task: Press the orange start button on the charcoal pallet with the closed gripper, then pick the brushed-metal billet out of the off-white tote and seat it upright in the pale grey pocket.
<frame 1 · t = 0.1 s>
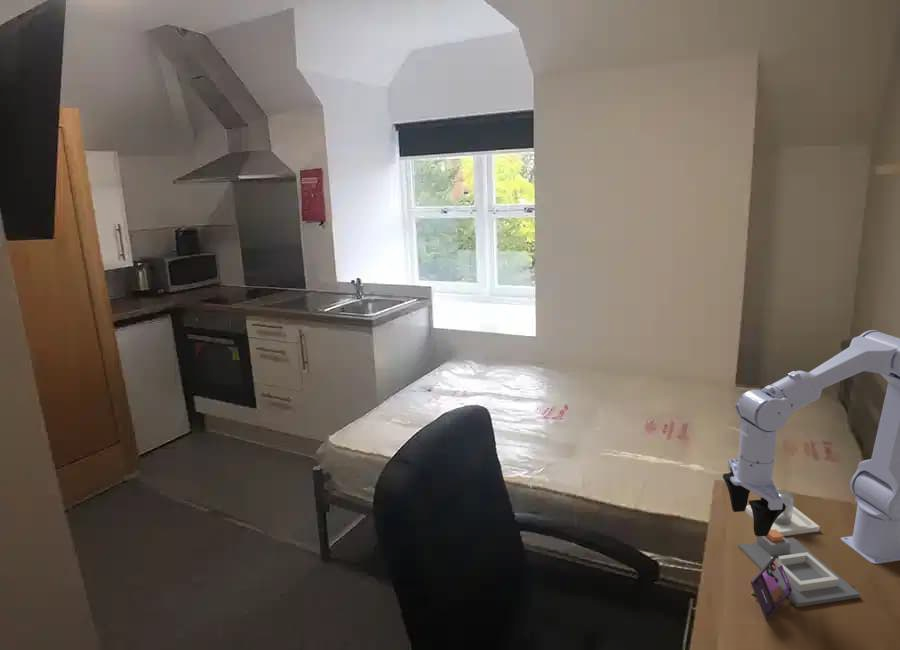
hand: (749, 522, 107), 10 cm above the table, tool pointing down, fingers open, 7 cm apart
billet: (780, 519, 123), resting on tote
tote: (780, 521, 123), on the table
game card: (766, 599, 102), on the table, touching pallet
start button: (774, 537, 113), point 3 cm above the table, slide at 0.0 cm
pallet: (794, 571, 108), on the table
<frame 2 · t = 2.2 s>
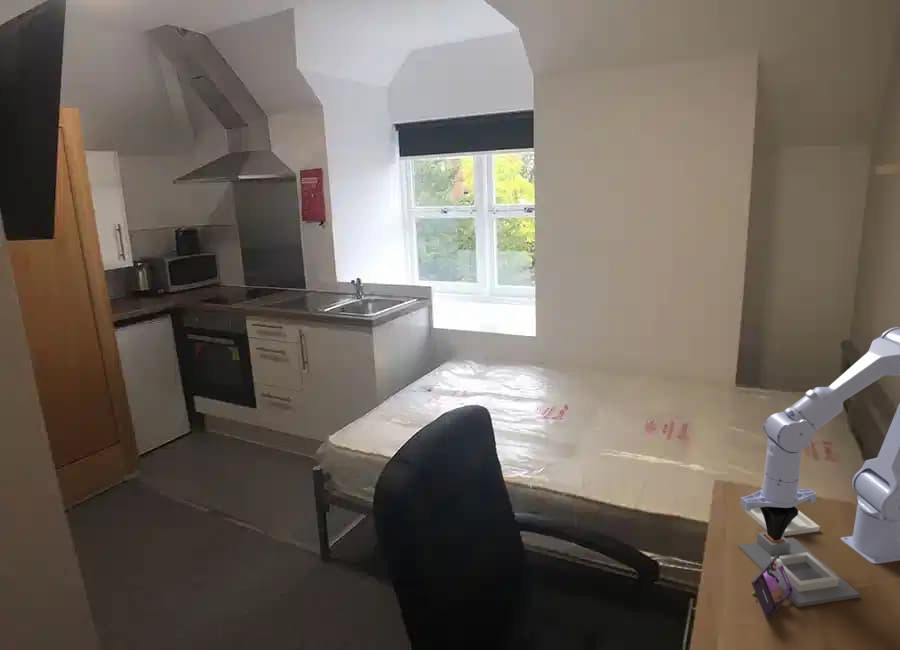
hand: (773, 537, 113), 3 cm above the table, tool pointing down, fingers closed, pressing on start button
start button: (773, 540, 114), point 2 cm above the table, slide at 0.8 cm, touching gripper
everything else where it was.
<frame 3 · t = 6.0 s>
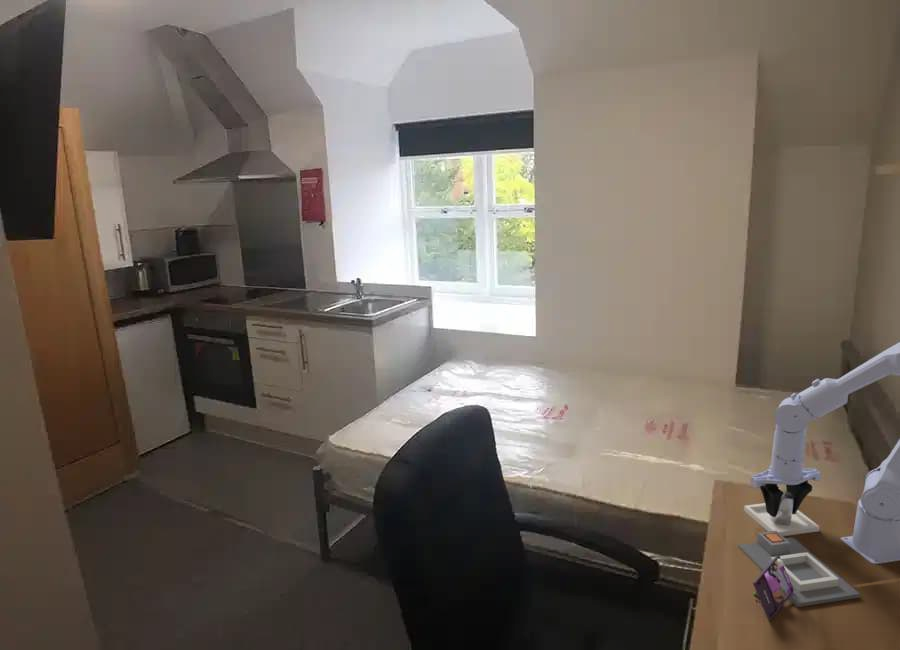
hand: (781, 512, 123), 2 cm above the table, tool pointing down, fingers closed on billet, 4 cm apart
billet: (780, 519, 123), resting on tote, touching gripper
start button: (773, 541, 114), point 2 cm above the table, slide at 0.9 cm
everything else where it was.
when the fingers open (3 cm above the table, at t = 11.4 s): billet stays where it is, resting on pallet.
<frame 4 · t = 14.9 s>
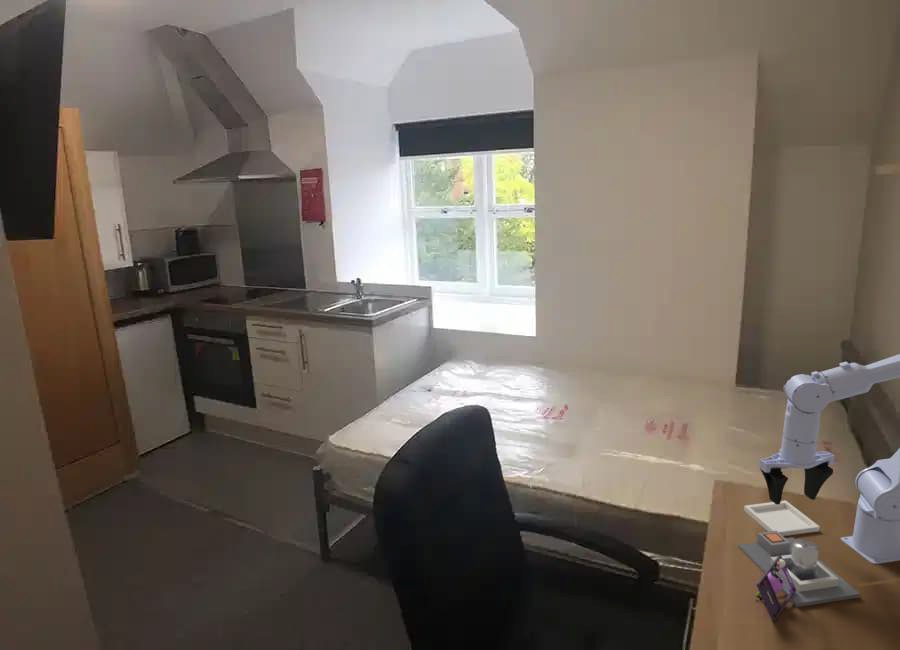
hand: (792, 499, 115), 9 cm above the table, tool pointing down, fingers open, 7 cm apart
billet: (802, 574, 106), point 1 cm above the table, touching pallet
everything else where it was.
at the end: start button slide at 0.9 cm; billet 0.2 cm from the target spot on the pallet, point 0.8 cm above the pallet's base; billet tilted 0° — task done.
